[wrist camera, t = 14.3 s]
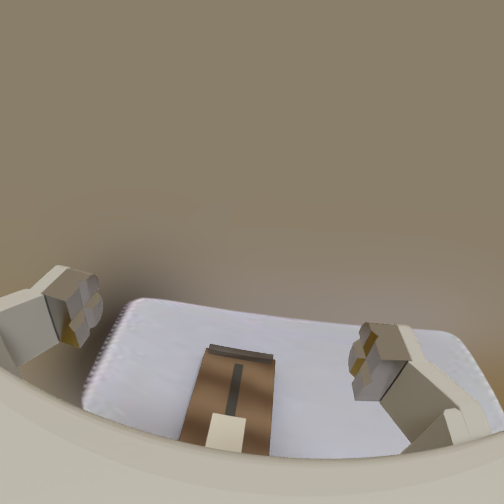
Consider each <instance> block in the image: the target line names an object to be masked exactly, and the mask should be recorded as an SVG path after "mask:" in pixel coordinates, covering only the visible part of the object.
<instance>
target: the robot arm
mask: <svg viewBox="0 0 504 504" xmlns="http://www.w3.org/2000/svg"><path fill="white" fill-rule="evenodd" d="M99 287H100V285H99V280H98V277H97V276H96V275H95V274H91V273H88V272H84V271H81V270H77V269H74V268H69V267H65V266H62V265H57V266H55V267H54V268H53V269H52V270H50V271H49V272H48V273H47V274H46V275H45V276H44V277H43V278H42V279H41V280H40V281H38V282H37V283H36V284H35V285H34V286H33V287H32V288H31V289H30V290H29V289H24V290H21V291H18V292H15V293H12V294H10V295H7V296H4V297H1V298H0V504H504V431H501V432H498V433H495V434H492V432H491V429H490V427H489V424H488V422H487V419H486V417H485V414H484V412H483V410H482V407H481V405H480V403H479V402H478V401H477V400H475V399H474V398H473V397H472V396H471V395H470V394H468V393H467V392H466V391H465V390H464V389H463V388H461V387H460V386H459V385H458V384H457V383H455V382H454V381H453V380H452V379H451V378H450V377H448V376H447V375H446V374H445V373H444V372H442V371H441V370H440V369H439V368H438V367H436V366H435V365H434V364H433V363H432V362H427V361H426V359H425V357H424V354H423V352H422V350H421V348H420V346H419V343H418V341H417V339H416V337H415V335H414V333H413V331H412V329H411V327H409V326H408V325H389V324H378V323H369V322H365V323H364V324H363V325H362V326H361V329H360V331H359V335H360V339H359V340H357V341H356V342H354V343H353V346H352V348H351V350H350V354H349V359H348V366H349V372H350V373H351V374H352V375H353V376H354V377H355V379H354V380H353V382H352V388H353V393H354V398H355V401H380V404H381V405H382V407H383V408H384V409H385V410H386V412H387V413H388V414H389V415H390V417H391V418H392V419H393V421H394V422H395V423H396V424H397V426H398V427H399V428H400V430H401V431H402V432H403V433H404V435H405V436H406V437H407V438H408V440H409V441H410V442H411V444H410V445H409V446H408V447H407V448H406V449H405V450H403V451H402V452H401V454H398V455H390V456H379V457H366V458H345V459H309V458H288V457H274V456H264V455H255V454H247V453H239V452H233V451H226V450H220V449H215V448H209V447H204V446H199V445H195V444H190V443H186V442H181V441H177V440H173V439H169V438H165V437H162V436H158V435H155V434H151V433H148V432H144V431H141V430H138V429H135V428H132V427H129V426H126V425H123V424H120V423H117V422H114V421H111V420H109V419H106V418H103V417H101V416H98V415H96V414H93V413H91V412H88V411H86V410H83V409H81V408H79V407H76V406H74V405H72V404H70V403H67V402H65V401H63V400H60V399H59V398H57V397H55V396H52V395H51V394H49V393H47V392H45V391H43V390H41V389H39V388H37V387H35V386H33V385H31V384H30V383H28V382H26V381H24V380H23V377H22V375H21V373H20V372H19V370H18V367H19V366H21V365H23V364H24V363H26V362H27V361H29V360H31V359H32V358H34V357H36V356H37V355H39V354H41V353H42V352H44V351H46V350H47V349H49V348H51V347H52V346H54V345H56V344H57V343H59V341H60V342H63V343H66V344H69V345H71V346H74V347H78V348H80V347H81V346H82V345H83V343H84V342H85V340H86V339H87V338H88V336H89V329H90V328H92V327H94V326H96V324H97V323H98V322H99V320H100V318H101V314H102V311H103V303H102V298H101V296H100V295H99V294H98V292H97V290H98V288H99Z"/></svg>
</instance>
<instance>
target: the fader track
mask: <svg viewBox="0 0 504 504" xmlns="http://www.w3.org/2000/svg"><path fill="white" fill-rule="evenodd" d="M274 375H275V360H274V359H273V355H272V354H265V353H259V352H252V351H246V350H241V349H235V348H229V347H224V346H219V345H213V344H210V346H209V348H206V351H205V354H204V358H203V361H202V364H201V367H200V371H199V374H198V377H197V381H196V384H195V387H194V391H193V394H192V397H191V401H190V404H189V408H188V411H187V414H186V418H185V421H184V425H183V428H182V431H181V435H180V438H179V441H181V442H186V443H190V444H195V445H199V446H204V447H205V445H206V441H207V436H208V432H209V427H210V423H211V419H212V414H213V413H217V414H222V415H228V416H233V417H239V418H246V423H245V430H244V437H243V444H242V451H241V453H247V454H255V455H264V456H269V448H270V435H271V421H272V407H273V392H274Z"/></svg>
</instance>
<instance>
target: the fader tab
mask: <svg viewBox="0 0 504 504" xmlns="http://www.w3.org/2000/svg"><path fill="white" fill-rule="evenodd" d="M245 423H246V418H239V417H233V416H228V415H222V414H217V413H213V414H212V419H211V423H210V427H209V432H208V436H207V441H206V445H205V447H209V448H215V449H220V450H226V451H233V452H239V453H241V451H242V444H243V437H244V430H245Z"/></svg>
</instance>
